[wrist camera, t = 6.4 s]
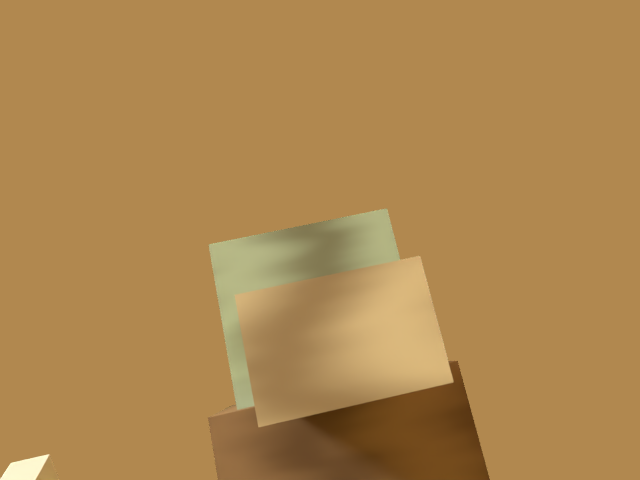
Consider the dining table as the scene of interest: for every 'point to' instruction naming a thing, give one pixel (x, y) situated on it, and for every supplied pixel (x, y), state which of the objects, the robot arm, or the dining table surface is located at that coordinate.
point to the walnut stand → (357, 440)
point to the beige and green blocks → (325, 318)
